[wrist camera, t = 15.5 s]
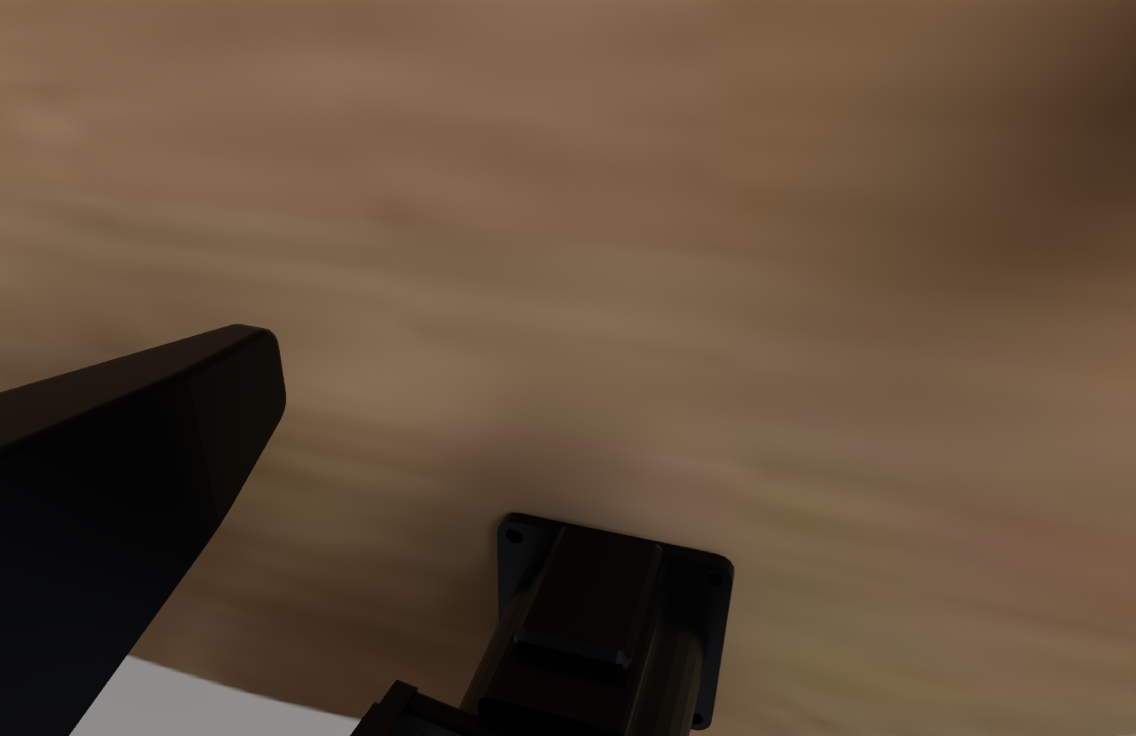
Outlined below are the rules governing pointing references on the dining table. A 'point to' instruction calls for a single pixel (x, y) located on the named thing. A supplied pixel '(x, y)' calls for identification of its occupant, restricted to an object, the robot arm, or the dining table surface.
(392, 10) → the dining table surface
